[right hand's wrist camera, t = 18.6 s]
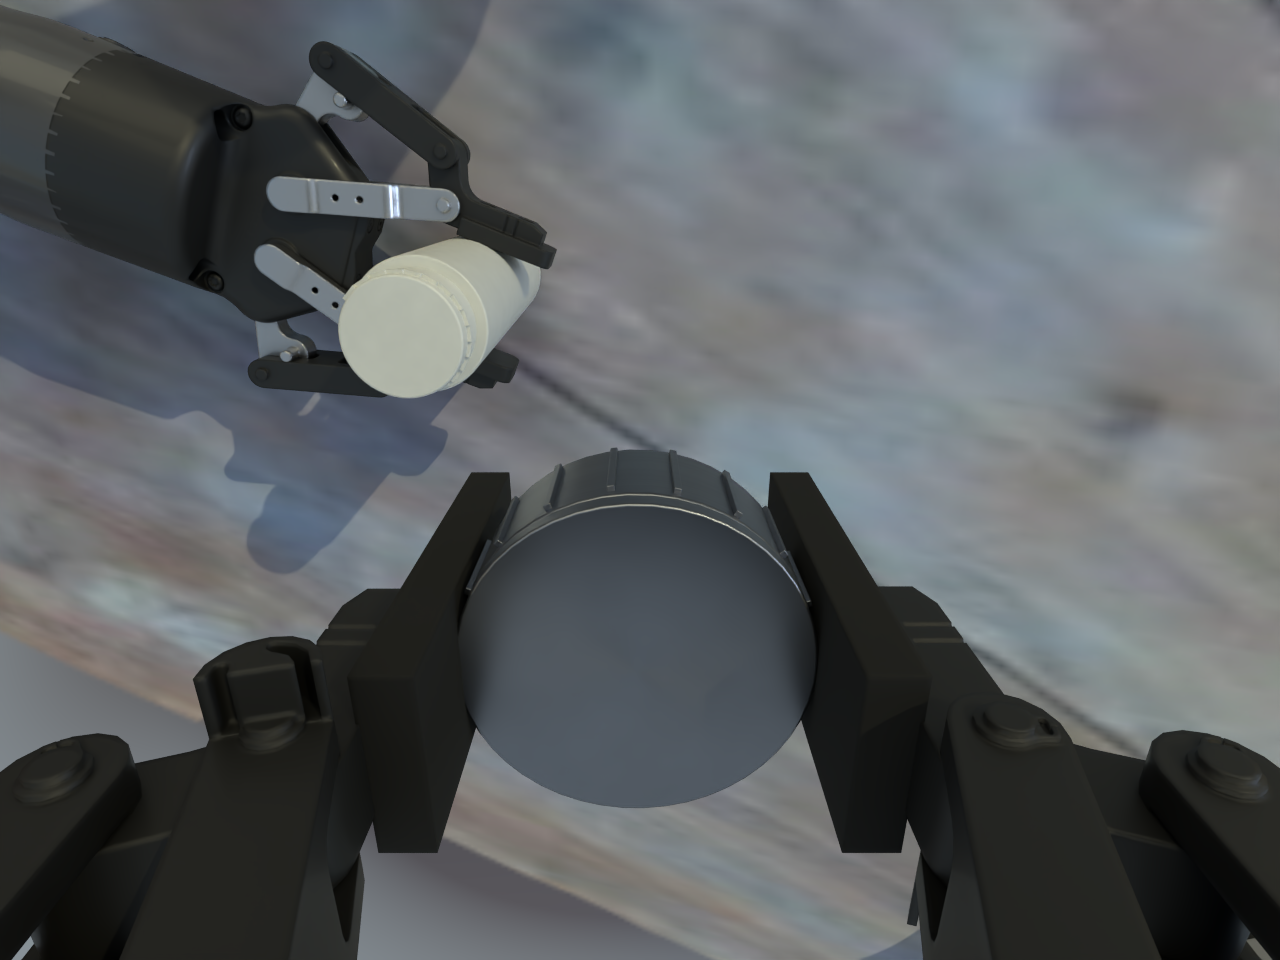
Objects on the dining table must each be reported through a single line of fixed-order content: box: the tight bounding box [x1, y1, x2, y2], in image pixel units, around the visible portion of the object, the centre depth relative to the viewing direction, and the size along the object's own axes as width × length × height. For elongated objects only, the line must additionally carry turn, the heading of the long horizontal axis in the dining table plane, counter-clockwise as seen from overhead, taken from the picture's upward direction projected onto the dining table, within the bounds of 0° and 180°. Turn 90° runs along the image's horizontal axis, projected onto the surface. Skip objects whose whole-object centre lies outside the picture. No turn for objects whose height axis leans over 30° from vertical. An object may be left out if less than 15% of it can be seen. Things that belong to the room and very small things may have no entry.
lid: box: [458, 448, 818, 808], centre depth 11 cm, size 5×5×2 cm
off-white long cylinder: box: [338, 236, 541, 398], centre depth 29 cm, size 4×4×16 cm
